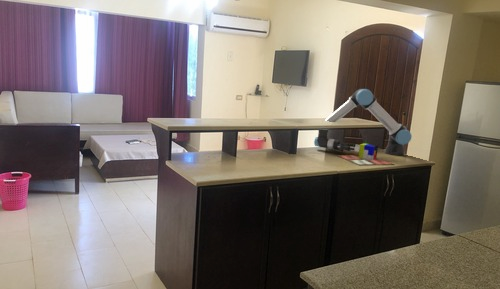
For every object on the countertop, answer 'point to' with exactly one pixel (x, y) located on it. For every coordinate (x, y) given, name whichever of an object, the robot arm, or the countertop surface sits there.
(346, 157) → the board
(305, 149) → the countertop surface
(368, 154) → the puzzle toy
